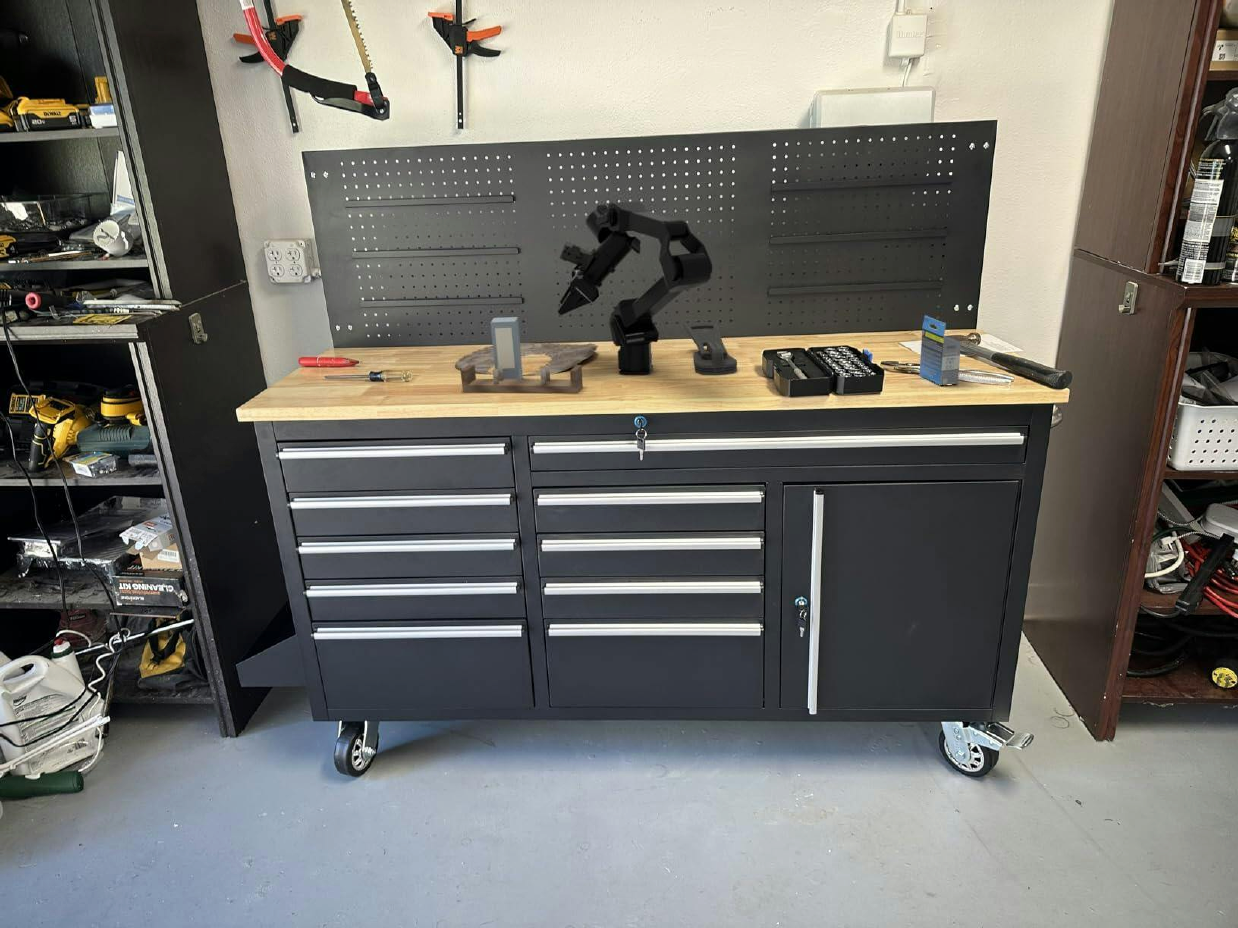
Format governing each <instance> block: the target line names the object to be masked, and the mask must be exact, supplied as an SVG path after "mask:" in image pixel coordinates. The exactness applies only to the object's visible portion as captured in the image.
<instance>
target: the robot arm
mask: <svg viewBox="0 0 1238 928" xmlns="http://www.w3.org/2000/svg"><path fill="white" fill-rule="evenodd" d="M585 227H586V229H587V230H588V231H589V233H590V234H591V235H592V236H593V238H595V240H596V241H597V243H599V245H598V247H593V248H592V249H591V250H590V251H588V250H586V249H584V248H582V247H581V246H580V245H579V246H577V245H576V244H575V243H571V242H568V241H565V242H564V245H563V247H562V250H561V251H560V255H559V259H560V260H562V261H565V262H569V263H571V264H574V266H573V268H572V269H571V280H570V281H569V285H568V287H567V289H566V290H565V292H564V293H563V295H562V297H561V298H560V300H559V304H561V305H560V307H559V308H558V310H557V313H558V314H559V315H560V316H563V315H564V314H567V313H570V312H571V311H574V310H576V309H578V308H581V307H583V306H586V305H589V304H592V303H594V302H596V300H597V299H598V298H600V297H599V296H600V288H601V287H602V286H603V282H604V281H606V279H607V278H608V277H609V276H610V275H611V274H614V273H615V272H616V271H617V267H618V266H619V265H620V264H621V263H622V262H623V261H624V260H625V259H626V257H628V256H629V254H630V253H632V251H633V252H635V253H636V254H638V255H640V254H641V243H642V240H641V239H639V238H638V237H637V236H632V235H631V234H630V233H629V232H635V233H638V234H641V235H644V236H648V237H651V238H654V239H657V240H658V241H659V243H660V250H659V256H658V259H659V260H658V261H659V264H660V266H661V270H662V271H661V272H662V276H661V277H660V278H659V279H658V280H656V281H655V283H653V284H652V285H651V286H650V287H649V288H648V289H647V290H646V291H645V292H644V293H642V294H641V295H640V296H639V297H636V298H627V299H621V300H620V301H618V303H617V305H616V306H612V307H613V308H612V309H613V310H612V312H611V314H610V317H609V321H608V323H609V324H608V325H609V329H610V334H611V339H612V342H613V345H614V346H615V347H619V349H618V351H617V364H618V370H619V372H618V373H619V375H650V374H651V371H652V370H653V368H654V364H653V363H652V343H657V342H658V341H659V335H660V332H659V331H658V329H657V326H656V325H655V322H654V320H653V317H654V316H655V315H656V314H658V312H660V311H661V310H663V308H665V307H666V306H667V305H668V304H669V303H671V302H672V301H673V300H674V299H675V298H676V297H678V296H679V295H680V294H681V293H683V292H684V291H687V290H690V289H693V288H696V287H700V286H702V285H704V284H706V283H708V282H709V281H710V279H711V277H712V273H713V264H712V260H711V259H710V255H709V253H708V251H707V249H706V247H705V244H704V243H702V242H701V240H700V239H698V238H697V237H696V236H695V234H693V233H692V231H691V230H690V227H689V225H688V223H687V222H686V221H685V220H682V219H675V218H672V217H668V216H665V215H662V214H658V213H654V212H650V211H648V210H647V207H646V205H644V204H642V203H641V202H639V201H638V200H636V201H635V200H633V201H632V200H631V201H619V202H617V201H616V202H609V203H608V204H598V205H596V209H595V210H593V211H592V212H591V213H589V215H588V216H587V218H586V220H585ZM675 242H677V243H678V242H679V243H680V245H681V246H683V248H685V250H686V251H687V252H688V253H683V254H682V253H680V254H672V253H671V250H670V244H671V243H675Z"/></svg>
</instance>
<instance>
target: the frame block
mask: <svg viewBox="0 0 1238 928" xmlns="http://www.w3.org/2000/svg"><path fill="white" fill-rule="evenodd" d="M490 331H491V340H492V341H491V343H492V346H493V354H494V364H495V367H494V369H498V368H497V366H499V365H502V369H503V379H524V376H523V375H524V374H523V365H522V364H523V363H522V357H521V350H520V343H521V339H520V327H519V317H518V316H511V317H510V316H509V317H508V316H507V317H494V318H493V319H492V320H491V321H490Z"/></svg>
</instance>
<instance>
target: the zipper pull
mask: <svg viewBox="0 0 1238 928" xmlns="http://www.w3.org/2000/svg"><path fill="white" fill-rule="evenodd" d="M683 327H684V329H685V330H686V333H688V335H689V336H690V338H691V339H692V341H693V342H694V343H695V345H696V347H697V349H698V350H695V351H693V366H694V373H695V374H698V375H701V376H723V375H726V376H727V375H732V374H735V373H736V372H737V370H738V360H737V359H735V358H734V357H733V356H732V355H730V354H729V353H728V351H727V349H726V345H725V344H724V343H723V342H724V341H723V340H722V335H721V332H720V329H719V325H718V322H716V321H700V322H688V323H685V324H684V325H683ZM705 347H706V348H705Z"/></svg>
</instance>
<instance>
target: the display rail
mask: <svg viewBox="0 0 1238 928" xmlns="http://www.w3.org/2000/svg"><path fill="white" fill-rule="evenodd" d="M543 366H544V368H545V369H541V368H540V369H541V370H539V371H541V376H540V379H539V378H533V379H530V378H522V379H503V369H502V365H499V366H497V368H498V369H495V368H493V369H492V373H493V374H492V376H493V377H492V378H477V374H475V365H468V366H466V367H465V368H464V369H462V370H460V378H461V388H462V393H499V394H500V393H501V394H502V393H504V394H505V393H507V394H509V393H511V394H512V393H514V394H515V393H518V394H519V393H520V394H523V393H524V394H525V393H526V394H529V393H530V394H578V393H579V392H580V390H582V388H583V386H584V385H583V384H584V383H583V382H584V381H583V369H582V368H583V367H582V364H577V365H575V366H573V367H572V369H570V371H569V376H570V378H569V379H567V378H566V379H564V378H563V379H562V378H561V379H560V378H557V379H556V378H555V379H554V378H551V374H550V369H549V366H546V365H543Z"/></svg>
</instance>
